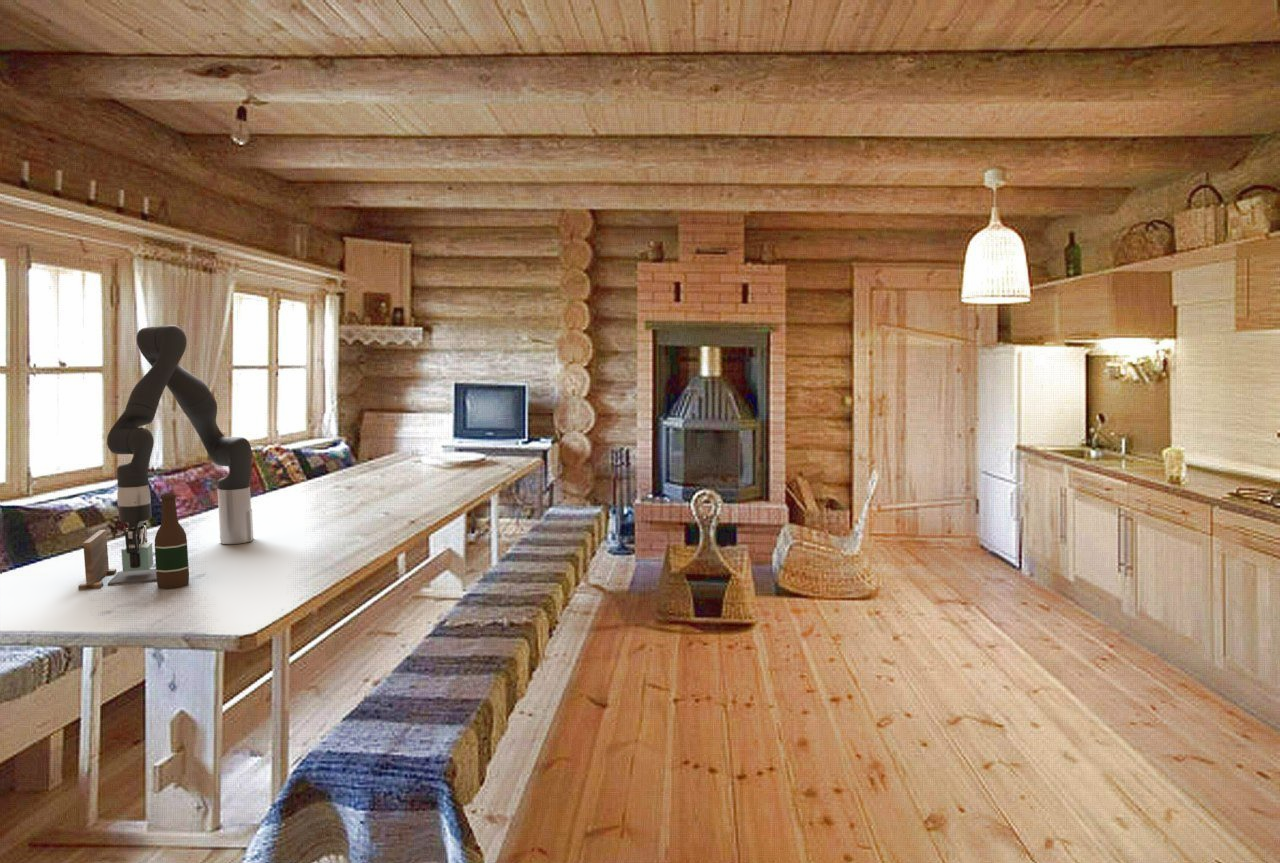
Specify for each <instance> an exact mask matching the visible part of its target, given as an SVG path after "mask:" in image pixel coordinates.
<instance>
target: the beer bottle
mask: <svg viewBox="0 0 1280 863" xmlns="http://www.w3.org/2000/svg"><path fill="white" fill-rule="evenodd" d="M176 498H177V496H176V493H175V492H163V493H161V494H160V498H159V499H160V500H161V520H160V521H161V522H160V526H159V528H158V529H157V530H156V534H155V538H154V558H155V559H154V560H155V569H156V576H157V581H156V585H157V588H158V589H161V590H171V589H172V590H173V589H180V588H183V587H186V586H189V583H190V570H189V568H190V567H189V553H188V552H189V551H188V536H187V533H186V531H185V529H184V528H183V526H182V525H181V524H180V522H179V519H178V512H177V503H176Z"/></svg>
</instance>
